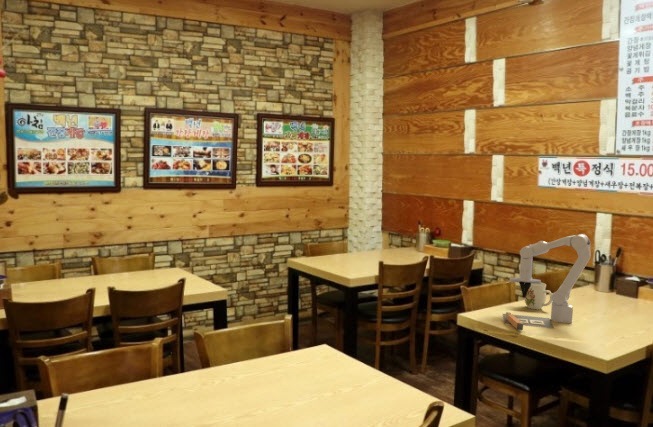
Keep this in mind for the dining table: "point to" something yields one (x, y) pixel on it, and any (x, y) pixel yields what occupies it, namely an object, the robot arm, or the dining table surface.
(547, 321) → the board
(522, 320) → the label
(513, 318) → the swing bar
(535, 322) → the label
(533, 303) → the white floral mug
